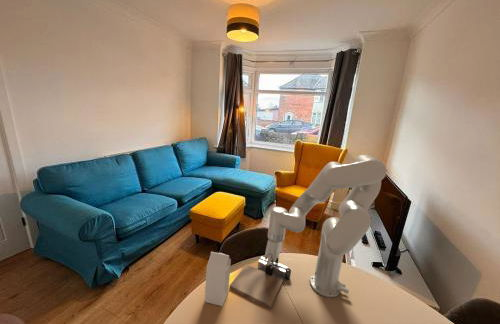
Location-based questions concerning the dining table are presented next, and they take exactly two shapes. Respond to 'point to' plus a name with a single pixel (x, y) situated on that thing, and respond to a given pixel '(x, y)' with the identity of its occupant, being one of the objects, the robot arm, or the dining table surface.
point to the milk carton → (217, 278)
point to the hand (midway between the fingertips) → (271, 268)
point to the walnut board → (257, 285)
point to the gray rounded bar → (275, 269)
